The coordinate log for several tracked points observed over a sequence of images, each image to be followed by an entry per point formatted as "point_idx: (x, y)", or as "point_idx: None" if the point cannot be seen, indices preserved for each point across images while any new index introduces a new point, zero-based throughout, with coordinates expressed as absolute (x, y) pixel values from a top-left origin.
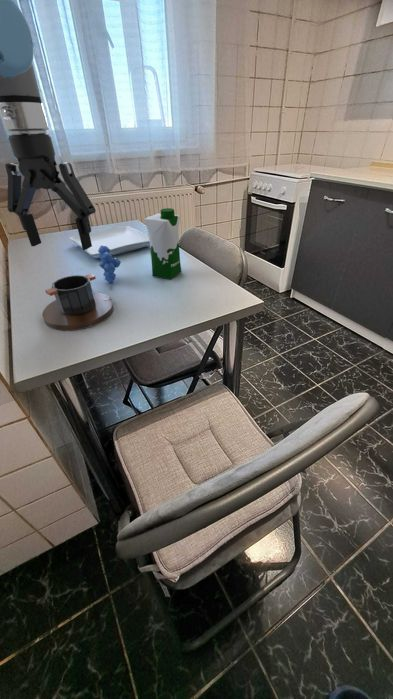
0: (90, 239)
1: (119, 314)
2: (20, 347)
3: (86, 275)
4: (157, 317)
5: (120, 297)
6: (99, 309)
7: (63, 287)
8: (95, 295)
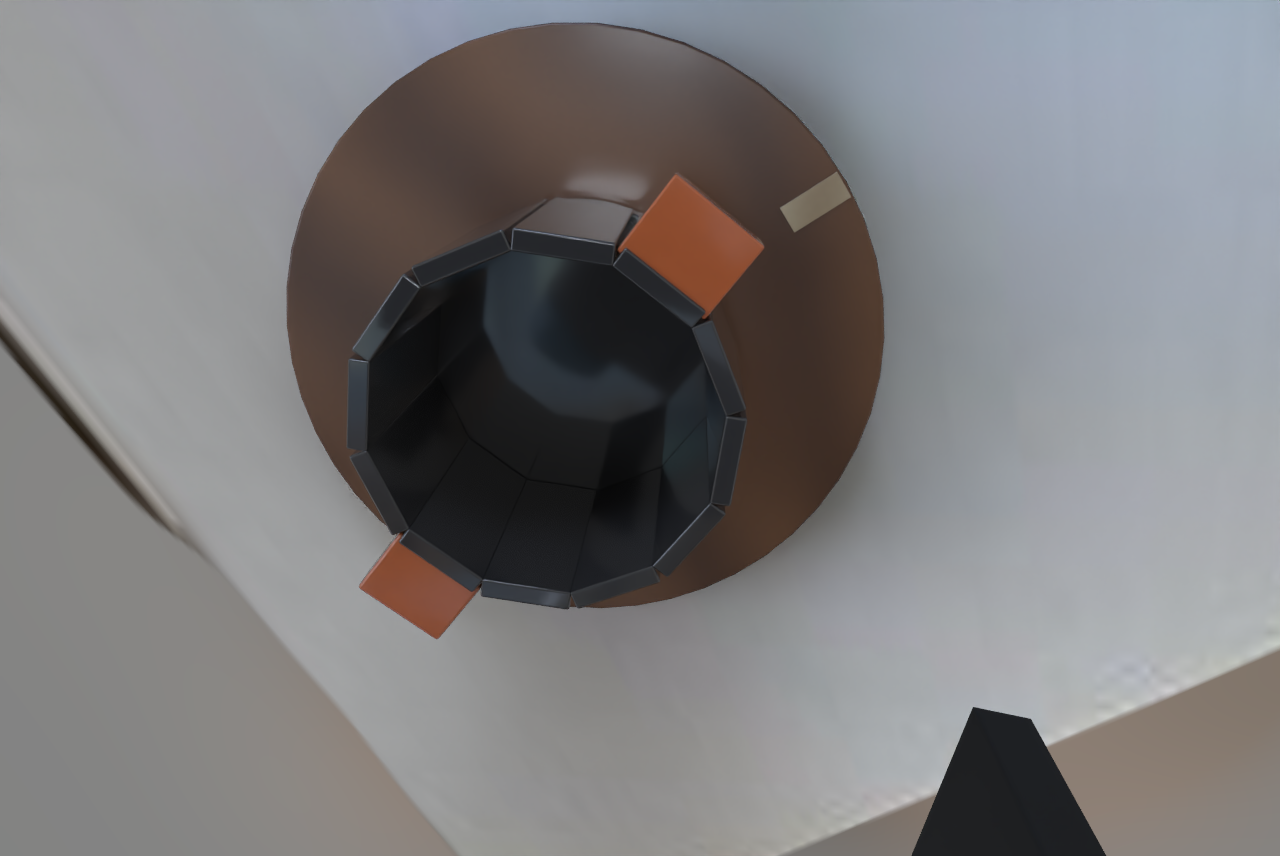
0: (1078, 809)
1: (938, 379)
2: (391, 736)
3: (646, 228)
4: (1267, 430)
5: (899, 42)
6: (782, 394)
7: (412, 319)
8: (663, 110)
